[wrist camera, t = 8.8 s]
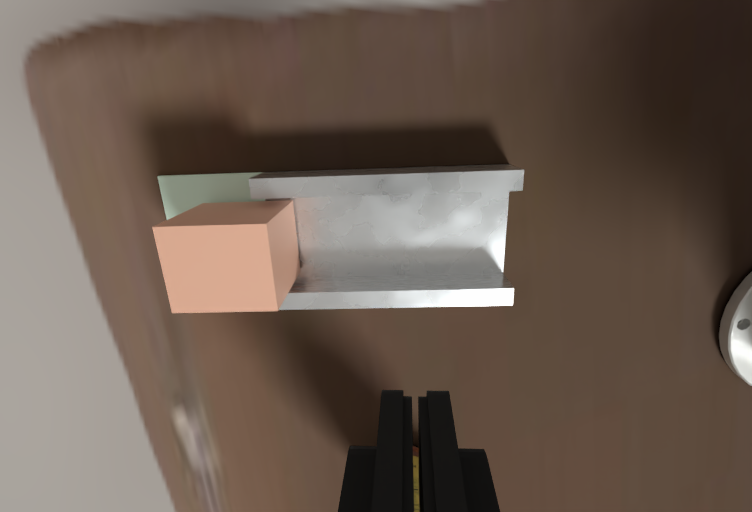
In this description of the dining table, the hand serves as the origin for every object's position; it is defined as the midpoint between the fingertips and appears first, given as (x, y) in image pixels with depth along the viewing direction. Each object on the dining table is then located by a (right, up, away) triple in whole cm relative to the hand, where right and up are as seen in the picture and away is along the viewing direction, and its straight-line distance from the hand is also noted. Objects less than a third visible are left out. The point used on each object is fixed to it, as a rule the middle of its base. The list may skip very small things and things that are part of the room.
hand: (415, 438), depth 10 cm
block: (-9, +6, +17) cm, 20 cm away
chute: (0, +6, +17) cm, 18 cm away
